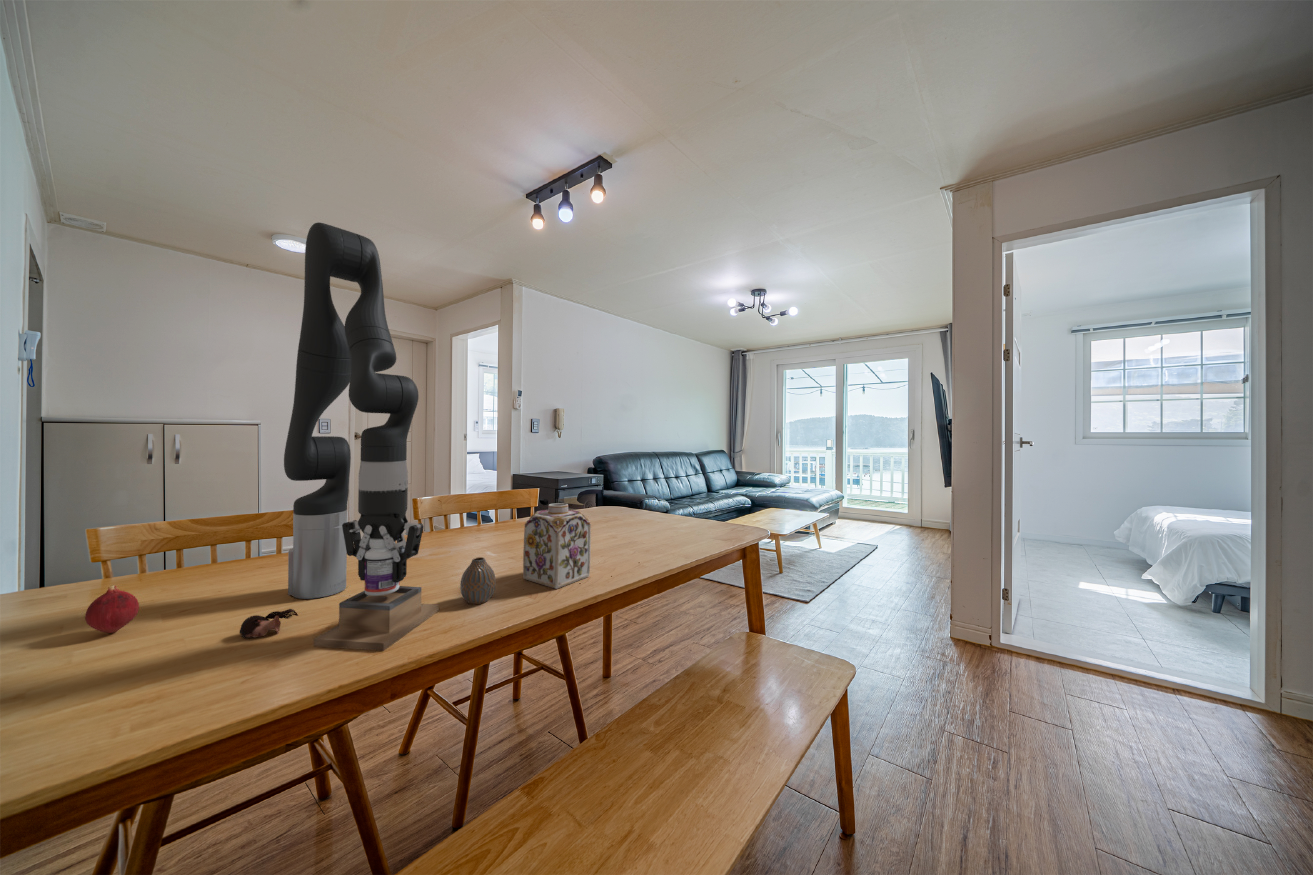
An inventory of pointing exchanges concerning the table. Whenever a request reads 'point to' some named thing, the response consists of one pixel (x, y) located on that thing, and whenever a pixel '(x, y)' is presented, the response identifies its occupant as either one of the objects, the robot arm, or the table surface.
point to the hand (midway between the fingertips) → (382, 579)
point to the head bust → (264, 623)
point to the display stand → (377, 619)
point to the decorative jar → (556, 546)
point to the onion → (112, 610)
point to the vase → (478, 582)
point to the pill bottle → (379, 569)
